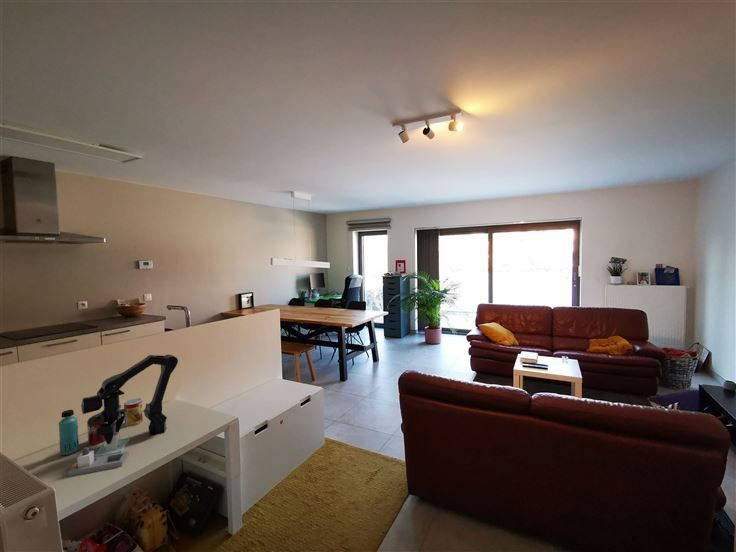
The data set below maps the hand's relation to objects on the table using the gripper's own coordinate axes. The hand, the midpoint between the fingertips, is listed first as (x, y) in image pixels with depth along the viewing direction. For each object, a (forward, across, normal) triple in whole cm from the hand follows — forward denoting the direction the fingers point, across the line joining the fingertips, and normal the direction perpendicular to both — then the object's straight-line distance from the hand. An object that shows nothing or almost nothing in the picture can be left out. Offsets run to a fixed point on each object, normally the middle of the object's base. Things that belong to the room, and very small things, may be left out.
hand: (113, 438), depth 149 cm
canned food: (+5, -25, +1) cm, 25 cm away
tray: (+5, 0, 0) cm, 5 cm away
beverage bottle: (+5, -2, -17) cm, 18 cm away
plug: (+4, 0, 0) cm, 4 cm away
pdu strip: (+5, +14, 0) cm, 15 cm away
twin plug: (+4, +14, -5) cm, 15 cm away
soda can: (+5, -9, -9) cm, 14 cm away
